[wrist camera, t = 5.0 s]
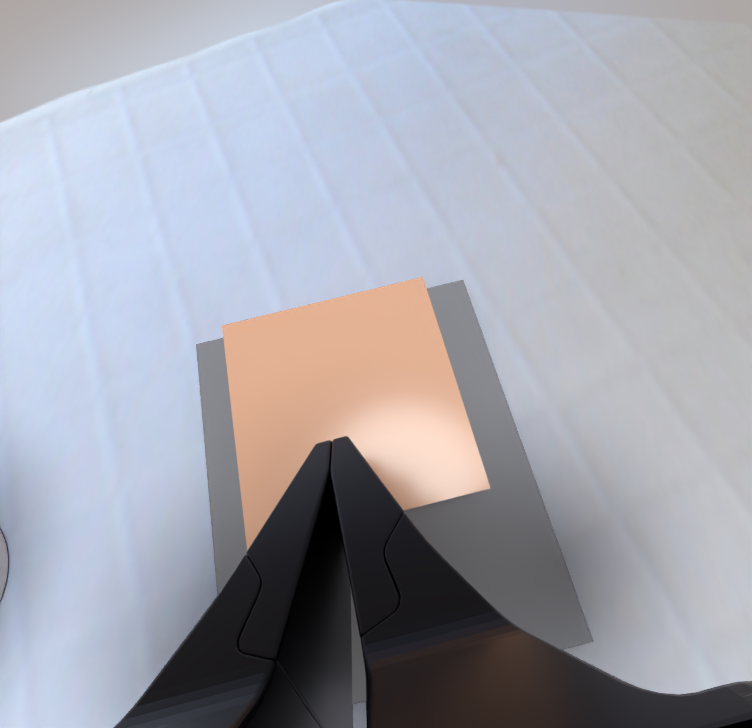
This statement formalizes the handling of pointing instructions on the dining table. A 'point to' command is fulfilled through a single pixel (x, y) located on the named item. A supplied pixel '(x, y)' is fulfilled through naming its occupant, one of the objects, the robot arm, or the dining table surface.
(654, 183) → the dining table surface
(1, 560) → the coffee cup
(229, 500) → the mat
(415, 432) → the tile
